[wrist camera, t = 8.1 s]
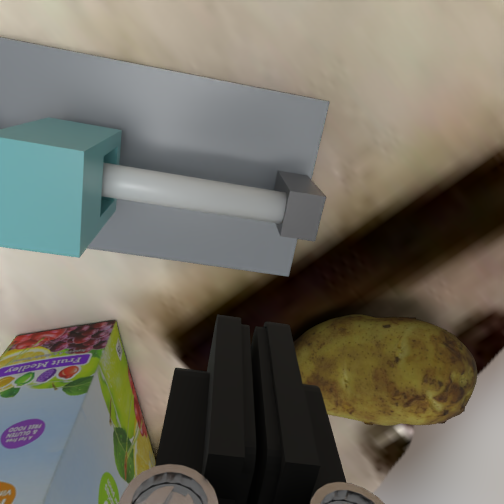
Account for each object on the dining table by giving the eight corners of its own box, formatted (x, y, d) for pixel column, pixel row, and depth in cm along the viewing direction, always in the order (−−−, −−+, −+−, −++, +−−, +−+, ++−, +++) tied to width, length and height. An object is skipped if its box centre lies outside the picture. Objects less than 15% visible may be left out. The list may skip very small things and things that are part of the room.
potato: (286, 285, 33) (305, 346, 26) (447, 300, 34) (509, 361, 27) (270, 376, 36) (282, 454, 29) (418, 386, 37) (467, 463, 30)
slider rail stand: (325, 100, 28) (358, 109, 21) (286, 269, 32) (303, 320, 26) (-42, 29, 25) (-137, 12, 19) (-31, 224, 30) (-105, 268, 23)
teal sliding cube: (121, 130, 25) (84, 151, 18) (115, 210, 27) (79, 257, 20) (48, 117, 25) (-19, 134, 18) (47, 199, 26) (-15, 244, 19)
